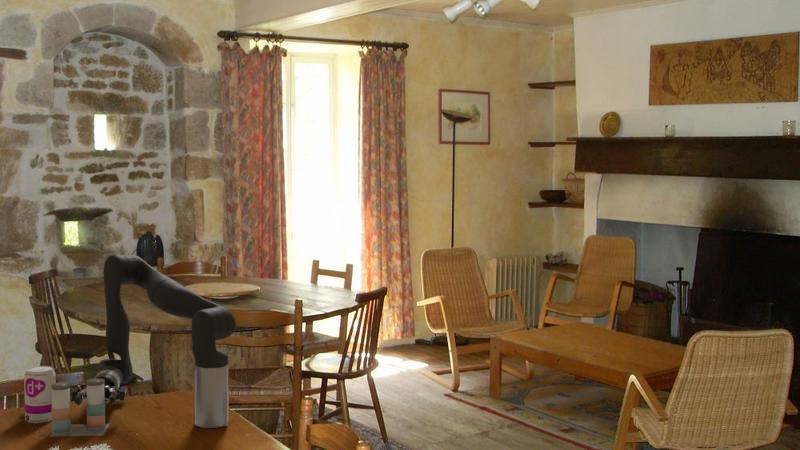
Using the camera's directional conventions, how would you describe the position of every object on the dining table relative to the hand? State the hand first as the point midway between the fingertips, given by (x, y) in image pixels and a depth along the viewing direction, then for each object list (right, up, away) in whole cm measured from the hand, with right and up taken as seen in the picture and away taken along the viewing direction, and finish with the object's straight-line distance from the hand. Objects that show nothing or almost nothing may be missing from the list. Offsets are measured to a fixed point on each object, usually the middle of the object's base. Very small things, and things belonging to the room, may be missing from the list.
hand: (94, 401), depth 250 cm
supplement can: (-19, -8, +10) cm, 23 cm away
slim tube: (0, -8, +3) cm, 8 cm away
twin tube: (-8, -8, -2) cm, 12 cm away
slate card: (-4, -9, +1) cm, 10 cm away
